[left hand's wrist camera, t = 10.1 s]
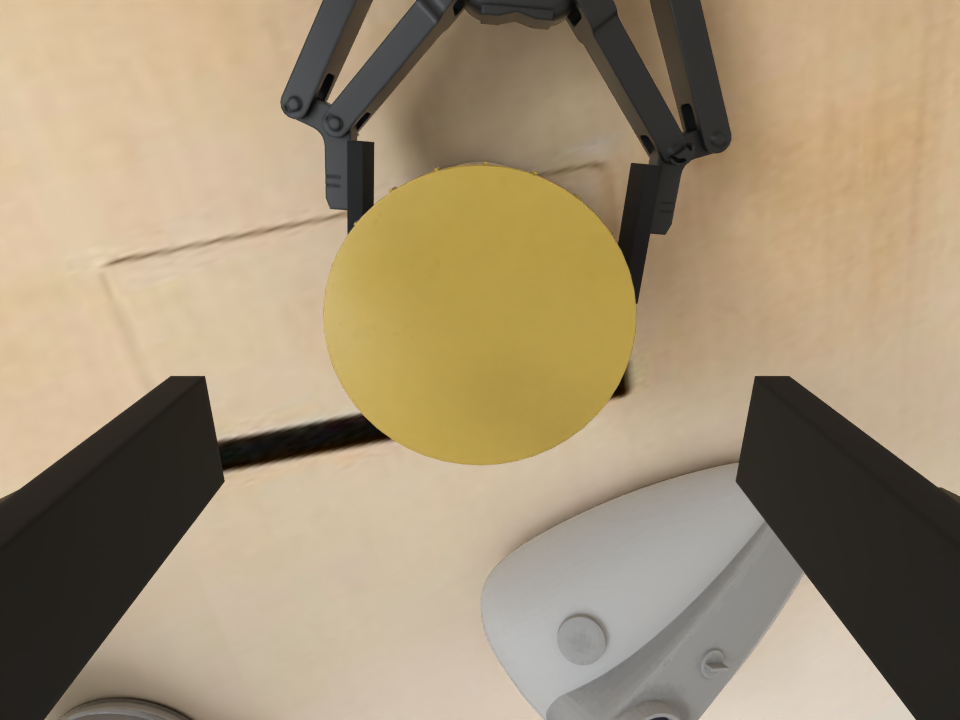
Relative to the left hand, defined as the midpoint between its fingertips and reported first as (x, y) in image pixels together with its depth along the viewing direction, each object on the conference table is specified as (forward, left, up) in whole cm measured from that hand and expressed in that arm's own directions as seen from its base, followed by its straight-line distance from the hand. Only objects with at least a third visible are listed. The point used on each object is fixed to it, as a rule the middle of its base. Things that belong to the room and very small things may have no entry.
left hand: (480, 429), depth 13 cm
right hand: (0, -1, -17) cm, 17 cm away
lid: (0, 0, -8) cm, 8 cm away
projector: (-16, -21, -24) cm, 35 cm away
